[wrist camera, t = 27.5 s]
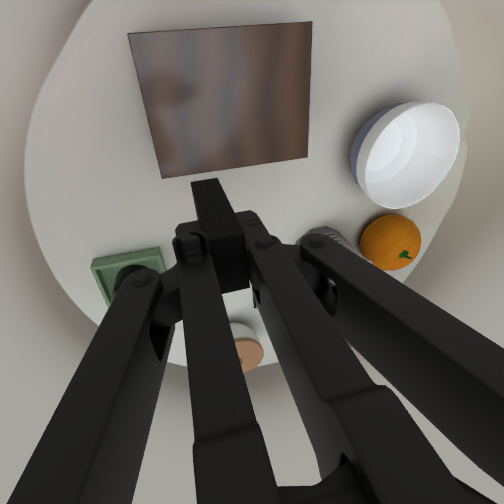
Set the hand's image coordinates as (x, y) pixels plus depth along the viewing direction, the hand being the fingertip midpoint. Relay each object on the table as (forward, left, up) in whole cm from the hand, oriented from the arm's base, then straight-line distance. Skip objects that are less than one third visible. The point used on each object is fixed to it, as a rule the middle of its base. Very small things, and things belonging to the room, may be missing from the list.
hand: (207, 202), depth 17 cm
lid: (+6, +1, -25) cm, 26 cm away
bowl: (+33, -9, -32) cm, 47 cm away
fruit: (+37, -28, -32) cm, 56 cm away
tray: (-13, -27, -32) cm, 43 cm away
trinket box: (+3, -47, -32) cm, 57 cm away
